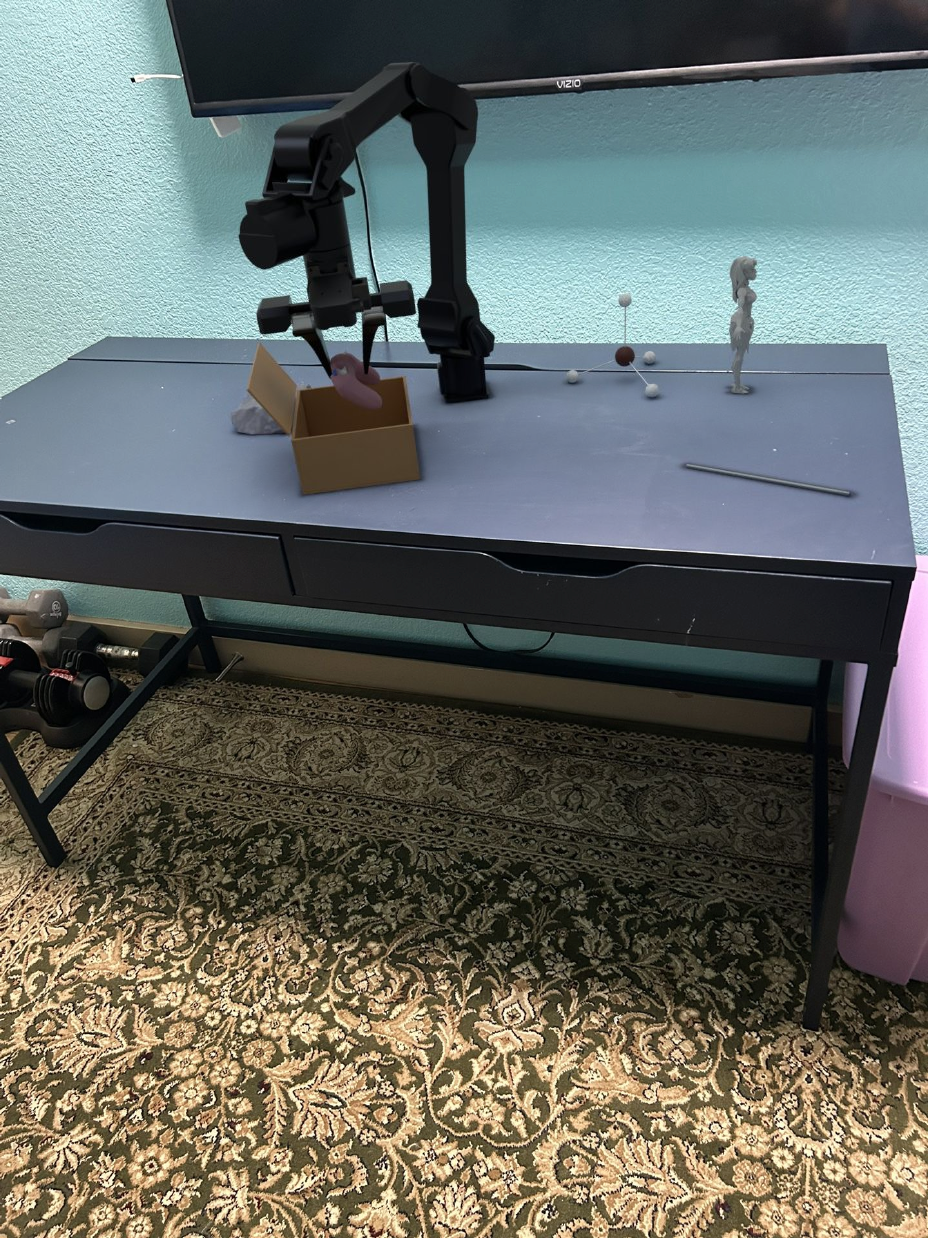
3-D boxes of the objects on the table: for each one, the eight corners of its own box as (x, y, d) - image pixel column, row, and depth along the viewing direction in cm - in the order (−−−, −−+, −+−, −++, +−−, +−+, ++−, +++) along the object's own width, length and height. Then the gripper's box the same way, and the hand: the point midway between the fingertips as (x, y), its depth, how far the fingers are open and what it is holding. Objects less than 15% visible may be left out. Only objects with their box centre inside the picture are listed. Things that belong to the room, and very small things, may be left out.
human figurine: (746, 407, 121) (759, 269, 111) (717, 407, 122) (727, 270, 112) (750, 374, 130) (762, 244, 120) (723, 374, 131) (733, 245, 121)
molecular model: (564, 381, 135) (561, 296, 127) (651, 360, 139) (653, 276, 131) (608, 411, 124) (608, 320, 117) (701, 387, 128) (706, 297, 121)
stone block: (233, 445, 131) (293, 432, 128) (219, 414, 129) (280, 400, 125) (264, 415, 141) (321, 402, 137) (252, 386, 138) (309, 372, 135)
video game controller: (354, 396, 120) (323, 353, 116) (383, 377, 119) (351, 333, 115) (355, 426, 112) (321, 381, 108) (386, 406, 111) (352, 360, 107)
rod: (849, 498, 100) (850, 493, 99) (685, 469, 109) (686, 464, 109) (851, 496, 100) (852, 490, 100) (688, 467, 109) (688, 462, 109)
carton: (420, 479, 113) (412, 424, 109) (303, 495, 112) (290, 440, 108) (412, 426, 127) (405, 375, 122) (307, 440, 126) (297, 389, 122)
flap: (248, 388, 104) (246, 390, 104) (290, 434, 108) (288, 436, 108) (259, 342, 118) (258, 343, 118) (296, 384, 121) (295, 386, 121)
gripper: (238, 273, 97) (270, 410, 106) (410, 252, 98) (427, 389, 107) (247, 249, 106) (276, 376, 115) (404, 229, 107) (420, 357, 116)
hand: (348, 375), depth 113 cm, fingers closed on video game controller, 4 cm apart
